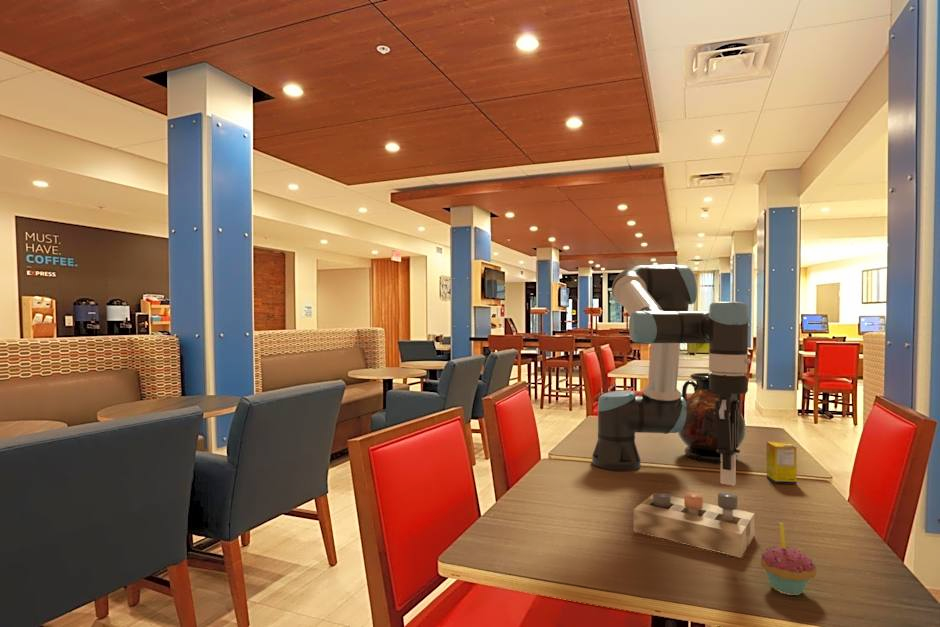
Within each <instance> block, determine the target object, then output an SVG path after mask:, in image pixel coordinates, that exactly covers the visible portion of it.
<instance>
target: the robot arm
mask: <svg viewBox="0 0 940 627" xmlns="http://www.w3.org/2000/svg"><path fill="white" fill-rule="evenodd" d="M697 287H698V286H697V281H696V277H695V274H694V272H693V270H692V268H690V266H688V265H683V264H682V265H679V264H656V265H655V264H651V265H643V264H642V265H641V264H639V265H634V266H631V267H628V268H626V269H624V270H623V271H621V272H620V273H618V274H617V275H616V277H615V278H614V279H613V281H612V286H611V295H612V297H613V298H614V299H615V302H616V303H617V304H618V305H620V306H621V307H624V309H625V311H626V312H627V314H628V315H629V318H628V319H629V320H628V322H629V323H628V334H629V337H630V340H631V341H632V342H634V343H638V344H639V343H640V344H643V343H644V344H647V345H648V344H650V348H649V349H650V350H649V364H648V378H647V379H648V380H647V386H645V387H644V388H642V394H641V395H636V392H635V391H634V390H633V391H632V390H616V391H615V390H614V391H609V392H605V393H603V394H601V395H599V397H598V399H597V400H598V401H597V409H596V410H597V441H596V444H595V446H594V450H593V453H592V457H591V461H592V462H591V463H592V465H593V466H595V467H597V468H600V469H603V470H604V469H605V470H610V471H620V472H621V471H622V472H623V471H625V472H626V471H633V470H634V471H635V470H638V469H641V466H642V464H641V463H642V461H641V457H640V453H639V449H638V447H637V444H636V433H639V434H641V433H644V434H648V433H649V434H664V435H666V434H676V433H677V434H678V432H679V431H680V430H682V428H683V426H684V424H685V421H686V415H687V411H686V408H687V406H686V401H685V399H684V398H683V397H682V392H681V391H680V390H679V389H678V388H677V387H678V376H679V375H678V374H679V373H678V372H679V362H680V350H681V344H706V345H707V344H709V346H708V347H709V348H708V349H709V350H708V351H709V352H708V371H709V373H712V374H710V375H709V389H710V391H712V392H718V393H719V395H720V396H719V401H717V402H716V408H717V409H716V410H715V415H716V423H717V440H718V450H717V451H716V453H721V463H720V474H719V475H720V484H723V485H728V486H734V487H735V485H737V482H736V481H737V480H736V479H737V478H736V476H737V475H736V472H737V471H736V467H737V465H736V464H737V463H736V462H737V460H736V459H737V458H736V454H740V453H741V450H740V449H738V448H739V447H738V431H739V413H740V407H741V406H742V404H741V405H740V401H737V394H741V395H744V394H746V393H748V392H749V377H748V376H747V375H746V374H747V373H748V368H749V367H748V366H749V365H748V364H751V362H752V360H751V358H748V354H749V353H748V352H749V351H748V350H749V348H748V347H749V321H750V317H749V313H748V312H749V310H748V305H747V303H745V302H742V301H714V302H710V304H709V310H701V311H699V310H698V311H696V310H691V311H689V305H693V304H695V302H696V301H697V297H698V288H697ZM741 408H742V407H741ZM736 448H737V449H736ZM734 453H736V454H734Z"/></svg>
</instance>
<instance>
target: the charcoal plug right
mask: <svg viewBox="0 0 940 627" xmlns="http://www.w3.org/2000/svg"><path fill="white" fill-rule="evenodd" d="M738 500H739V499H738V495H736V493H735V494H734V493H731V492H719V493H717V506H719V507H720V508H723V519H724V520H729V521H731V520H733V510H738V507H739V505H738Z"/></svg>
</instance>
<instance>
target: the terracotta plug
mask: <svg viewBox="0 0 940 627" xmlns="http://www.w3.org/2000/svg"><path fill="white" fill-rule="evenodd" d="M683 495H684V496H683V497H684V498H683V499H684V506H685V507H687V508H689V514H692V515H696V516H698V509H702V508H703V503H704V502H703V501H704V496H703V495H702V494H700V493H696V492H685V493H684V494H683Z"/></svg>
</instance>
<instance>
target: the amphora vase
mask: <svg viewBox="0 0 940 627" xmlns="http://www.w3.org/2000/svg"><path fill="white" fill-rule="evenodd" d="M710 374H712V372H698V373H697V372H695V373H692V374H690V376H689V377H690V379H692V380H687V381H685V382H684V384H683V385H682V390H681V397H683V398H684V399H685V401H686V406H687V408H686V411H687V415H686V421H685V424H684V426H683V428H682V430H680V431H679V432H677V434H678V437H679V438H680V439H681V441H682V442H683V444H685V446H686V447H685V448H684V454H685V455H686V456H687V457H689V458H691V459H693V460H696V459H697V461H700V460H701V462H705V461H708V462H707V463H714V462H721V453H716V451H717V450H718V440H717V423H716V415H715V410H716V409H717V408H716V402H717V401H719V396H720V395H719V393H718V392H712V391H710V389H709V375H710ZM689 385H691V386H692V387H693V389H694V390H693V391H694V392H693V393H692V394H691V395H690V396H689V397H688V396H687V394H688V393H687V390H688V386H689ZM741 395H742V394H737V401H740V405H741V406H742V403H741V402H742V396H741ZM746 433H747V427H746V421H745V418H744V416H743V414H742V407H740V413H739V431H738V448H740V446H741V444H742V443H743V442H744V441H745V438H746V436H747V434H746ZM738 448H736V449H737V450H738ZM734 454H736V459H737V458H738V453H734Z"/></svg>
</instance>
